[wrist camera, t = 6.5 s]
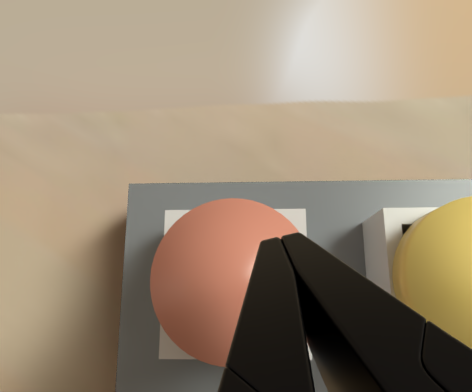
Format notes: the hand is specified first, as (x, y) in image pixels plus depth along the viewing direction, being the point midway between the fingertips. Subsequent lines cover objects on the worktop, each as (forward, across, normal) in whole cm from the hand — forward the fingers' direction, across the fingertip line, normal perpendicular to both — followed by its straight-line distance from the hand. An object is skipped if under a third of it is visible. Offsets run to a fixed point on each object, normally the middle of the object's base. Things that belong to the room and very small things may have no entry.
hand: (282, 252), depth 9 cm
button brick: (+6, +1, +6) cm, 9 cm away
